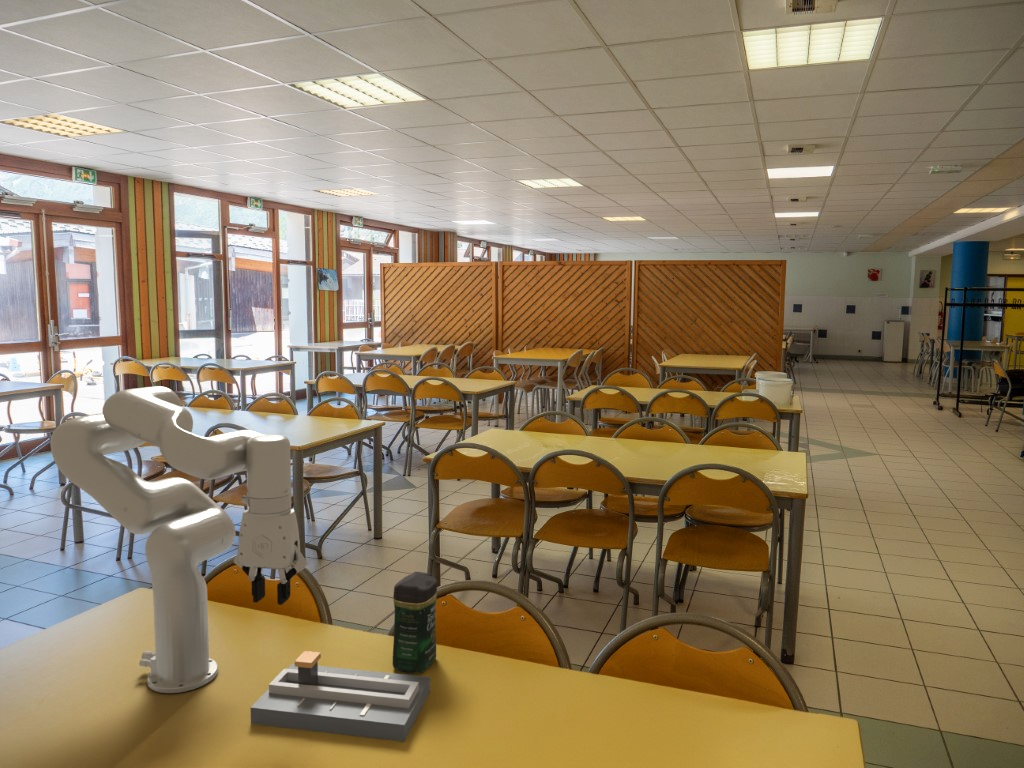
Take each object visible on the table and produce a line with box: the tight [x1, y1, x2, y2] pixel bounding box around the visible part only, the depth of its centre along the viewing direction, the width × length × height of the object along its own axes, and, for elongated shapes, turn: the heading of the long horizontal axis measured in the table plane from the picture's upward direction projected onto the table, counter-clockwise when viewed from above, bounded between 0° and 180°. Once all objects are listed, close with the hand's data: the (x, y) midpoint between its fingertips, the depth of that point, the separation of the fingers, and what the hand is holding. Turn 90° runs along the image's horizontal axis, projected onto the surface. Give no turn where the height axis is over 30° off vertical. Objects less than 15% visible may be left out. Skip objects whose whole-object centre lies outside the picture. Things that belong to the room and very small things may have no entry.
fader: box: [294, 650, 322, 686], centre depth 131 cm, size 3×4×6 cm
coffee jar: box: [392, 571, 438, 675], centre depth 146 cm, size 10×8×19 cm
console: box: [250, 662, 431, 743], centre depth 131 cm, size 28×16×5 cm, turn 81°
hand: (271, 599), depth 131 cm, fingers open, 4 cm apart
